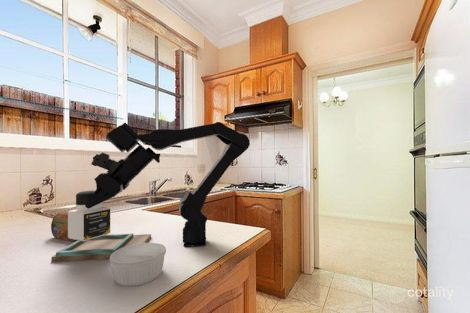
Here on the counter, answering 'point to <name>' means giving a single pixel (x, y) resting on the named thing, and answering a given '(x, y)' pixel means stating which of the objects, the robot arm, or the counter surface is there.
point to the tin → (60, 227)
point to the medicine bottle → (88, 219)
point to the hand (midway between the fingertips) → (90, 205)
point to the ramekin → (137, 263)
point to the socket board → (98, 247)
